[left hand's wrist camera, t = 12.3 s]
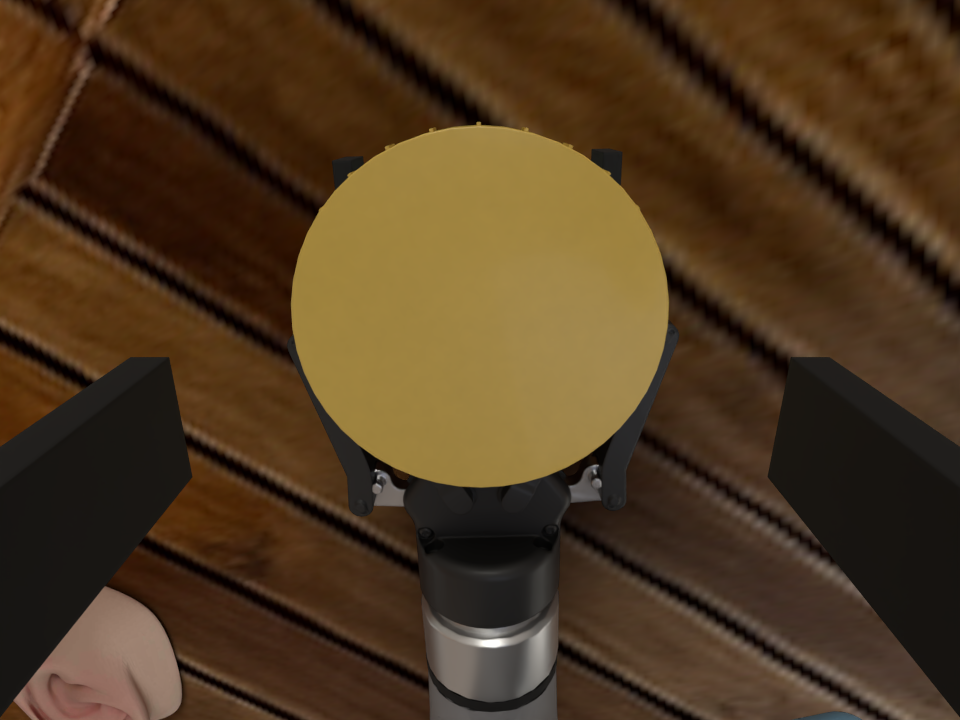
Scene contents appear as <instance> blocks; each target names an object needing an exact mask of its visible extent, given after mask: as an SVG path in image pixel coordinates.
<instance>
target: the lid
mask: <svg viewBox="0 0 960 720" xmlns="http://www.w3.org/2000/svg"><path fill="white" fill-rule="evenodd" d="M528 130H529V129H528V128H524V127H522V128H521V130H518V129H513V128H508V127H503V126H487V125H481V122H477V125H472V126H459V127H451V128H447V129H442V130H436V128H432V129H429V133H425V134H422V135H420V136H417V137H414V138H412V139H409V140H406V141H404V142H401V143H398V144H397V145H395V144H392V145H388V146H386V147H385V149H386V151H384V152H382V153H380V154H378V155H376V156H375V157H373V158H372V159H371V160H369V161H368V162H367V163H365V164H364V165H363V166H361V167H360V168H359V169H357V170H356V171H353V172H351V173H349V174H348V175H347V176H348V178H347V179H346V180H345V181H344V182H343V183H342V184H341V185H340V186H339V187H338V188H337V189H336V190H335V191H334V193H333V194H332V195H331V197H330V198H329V199H328V201H327V202H326V203H325V205H324V206H323V207H321V208H320V209H319V213H318V215H317V217H316V218H315V220H314V222H313V224H312V226H311V227H310V229H309V231H308V233H307V235H306V238H305V241H304V243H303V246H302V248H301V250H300V254H299V256H298V261H297V265H296V270H295V274H294V278H293V287H292V299H291V312H292V328H293V334H294V339H295V344H296V349H297V353H298V356H299V359H300V362H301V365H302V368H303V371H304V373H305V375H306V377H307V380H308V382H309V384H310V386H311V388H312V390H313V392H314V394H315V395H316V397H317V398H318V400H319V401H320V403H321V404H322V406H323V408H324V409H325V411H326V412H327V413H328V414H329V416H330V417H331V418H332V419H333V420H334V422H335V423H336V424H337V425H338V426H339V427H340V429H341V430H342V431H344V432H345V433H346V434H347V435H348V436H349V437H350V438H351V439H352V440H353V441H354V442H355V443H357V444H358V445H359V446H360V447H362V448H363V449H365V450H366V451H367V452H369V453H370V454H372V455H373V456H374V457H376V458H377V459H379V460H381V461H383V462H385V463H386V464H388V465H390V466H392V467H394V468H396V469H398V470H400V471H403V472H405V473H408V474H410V475H413V476H415V477H418V478H422V479H425V480H429V481H432V482H436V483H441V484H447V485H453V486H460V487H479V488H482V487H499V486H507V485H513V484H519V483H524V482H528V481H531V480H535V479H538V478H542V477H545V476H548V475H550V474H552V473H555V472H557V471H559V470H562V469H564V468H567V467H568V466H570V465H572V464H574V463H575V462H577V461H579V460H581V459H582V458H584V457H586V456H587V455H589V454H590V453H591V452H593V451H594V450H595V449H597V448H598V447H599V446H601V445H602V444H604V443H605V442H606V441H607V440H608V439H609V438H610V437H611V436H612V435H613V434H614V433H615V432H616V431H617V430H619V429H620V428H621V426H622V425H623V424H624V423H625V422H626V420H627V419H628V418H629V417H630V416H631V414H632V413H633V412H634V411H635V409H636V408H637V406H638V405H639V403H640V401H641V400H642V398H643V397H644V395H645V394H646V392H647V390H648V388H649V386H650V384H651V382H652V379H653V377H654V375H655V373H656V371H657V368H658V365H659V362H660V359H661V356H662V353H663V349H664V345H665V339H666V333H667V328H668V311H669V298H668V288H667V278H666V274H665V269H664V265H663V261H662V257H661V253H660V251H659V247H658V245H657V243H656V241H655V238H654V236H653V233H652V231H651V229H650V227H649V226H648V224H647V222H646V220H645V219H644V217H643V215H642V213H641V212H640V210H639V209H640V208H639V206H637V205H636V204H635V203H634V202H633V201H632V199H631V198H630V197H629V195H628V194H627V193H626V192H625V190H624V189H623V188H622V187H621V186H620V185H619V184H618V183H617V182H616V181H615V180H614V179H613V178H612V177H611V176H610V175H611V173H610V172H609V171H606V170H604V169H602V168H600V167H599V166H597V165H596V164H595V163H593V162H592V161H591V160H589V159H588V158H586V157H585V156H584V155H582V154H580V153H578V152H576V151H574V150H573V149H572V148H573V146H572V145H570V144H567V143H563V144H561V143H559V142H557V141H554V140H551V139H548V138H546V137H543V136H540V135H537V134H534V133H531V132H528Z"/></svg>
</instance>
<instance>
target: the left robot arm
mask: <svg viewBox="0 0 960 720" xmlns="http://www.w3.org/2000/svg"><path fill="white" fill-rule="evenodd" d="M191 478H192V473H191V468H190V462H189V457H188V452H187V447H186V442H185V437H184V432H183V426H182V421H181V416H180V411H179V406H178V401H177V396H176V390H175V385H174V380H173V375H172V370H171V365H170V360H169V357H130V358H129V359H127V360H126V361H125V362H123V363H122V364H120V365H119V366H117V367H116V368H114V369H113V370H111V371H110V372H109V373H107V374H106V375H104V376H103V377H101V378H100V379H98V380H97V381H95V382H94V383H92V384H91V385H90V386H88V387H87V388H85V389H84V390H82V391H81V392H79V393H78V394H76V395H75V396H74V397H72V398H71V399H69V400H68V401H66V402H65V403H63V404H62V405H60V406H59V407H58V408H56V409H55V410H53V411H52V412H50V413H49V414H47V415H46V416H44V417H43V418H42V419H40V420H39V421H37V422H36V423H34V424H33V425H31V426H30V427H28V428H27V429H26V430H24V431H23V432H21V433H20V434H18V435H17V436H15V437H14V438H12V439H11V440H10V441H8V442H7V443H5V444H4V445H2V446H1V447H0V717H1V716H2V714H3V713H4V712H5V710H6V709H7V708H8V707H9V705H10V704H11V703H12V702H13V700H14V699H15V698H16V697H17V695H18V694H19V693H20V692H21V690H22V689H23V688H24V687H25V685H26V684H27V683H28V682H29V680H30V679H31V678H32V677H33V675H34V674H35V673H36V672H37V670H38V669H39V668H40V667H41V665H42V664H43V663H44V662H45V660H46V659H47V658H48V657H49V655H50V654H51V653H52V652H53V650H54V649H55V648H56V647H57V645H58V644H59V643H60V642H61V640H62V639H63V638H64V637H65V635H66V634H67V633H68V632H69V630H70V629H71V628H72V627H73V625H74V624H75V623H76V622H77V620H78V619H79V618H80V617H81V615H82V614H83V613H84V612H85V610H86V609H87V608H88V607H89V605H90V604H91V603H92V602H93V600H94V599H95V598H96V597H97V595H98V594H99V593H100V592H101V590H102V589H103V588H104V587H105V585H106V584H107V583H108V582H109V580H110V579H111V578H112V577H113V575H114V574H115V573H116V572H117V570H118V569H119V568H120V567H121V565H122V564H123V563H124V562H125V560H126V559H127V558H128V557H129V555H130V554H131V553H132V552H133V550H134V549H135V548H136V547H137V545H138V544H139V543H140V542H141V540H142V539H143V538H144V537H145V535H146V534H147V533H148V532H149V530H150V529H151V528H152V527H153V525H154V524H155V523H156V522H157V520H158V519H159V518H160V517H161V515H162V514H163V513H164V512H165V510H166V509H167V508H168V507H169V505H170V504H171V503H172V502H173V500H174V499H175V498H176V497H177V495H178V494H179V493H180V492H181V490H182V489H183V488H184V487H185V485H186V484H187V483H188V482H189V480H190V479H191ZM768 478H769V479H770V480H771V482H772V483H773V484H774V485H775V487H776V488H777V489H778V490H779V492H780V493H781V494H782V495H783V497H784V498H785V499H786V500H787V502H788V503H789V504H790V505H791V507H792V508H793V509H794V510H795V512H796V513H797V514H798V515H799V517H800V518H801V519H802V520H803V522H804V523H805V524H806V525H807V527H808V528H809V529H810V530H811V532H812V533H813V534H814V535H815V537H816V538H817V539H818V540H819V542H820V543H821V544H822V545H823V547H824V548H825V549H826V550H827V552H828V553H829V554H830V555H831V557H832V558H833V559H834V560H835V562H836V563H837V564H838V565H839V567H840V568H841V569H842V570H843V572H844V573H845V574H846V575H847V577H848V578H849V579H850V580H851V582H852V583H853V584H854V585H855V587H856V588H857V589H858V590H859V592H860V593H861V594H862V595H863V597H864V598H865V599H866V600H867V602H868V603H869V604H870V605H871V607H872V608H873V609H874V610H875V612H876V613H877V614H878V615H879V617H880V618H881V619H882V620H883V622H884V623H885V624H886V625H887V627H888V628H889V629H890V630H891V632H892V633H893V634H894V635H895V637H896V638H897V639H898V640H899V642H900V643H901V644H902V645H903V647H904V648H905V649H906V650H907V652H908V653H909V654H910V655H911V657H912V658H913V659H914V660H915V662H916V663H917V664H918V665H919V667H920V668H921V669H922V670H923V672H924V673H925V674H926V675H927V677H928V678H929V679H930V680H931V682H932V683H933V684H934V685H935V687H936V688H937V689H938V690H939V692H940V693H941V694H942V695H943V697H944V698H945V699H946V700H947V702H948V703H949V704H950V705H951V707H952V708H953V709H954V711H955V712H956V713H957V714H958V716H959V717H960V447H959V446H958V445H956V444H955V443H953V442H952V441H950V440H949V439H948V438H946V437H945V436H943V435H942V434H940V433H939V432H937V431H936V430H934V429H933V428H932V427H930V426H929V425H927V424H926V423H924V422H923V421H921V420H920V419H918V418H917V417H916V416H914V415H913V414H911V413H910V412H908V411H907V410H905V409H904V408H902V407H901V406H900V405H898V404H897V403H895V402H894V401H892V400H891V399H889V398H888V397H886V396H885V395H884V394H882V393H881V392H879V391H878V390H876V389H875V388H873V387H872V386H870V385H869V384H868V383H866V382H865V381H863V380H862V379H860V378H859V377H857V376H856V375H854V374H853V373H851V372H850V371H849V370H847V369H846V368H844V367H843V366H841V365H840V364H838V363H837V362H835V361H834V360H833V359H831V358H830V357H791V360H790V365H789V370H788V375H787V380H786V385H785V390H784V396H783V401H782V406H781V411H780V416H779V421H778V426H777V432H776V437H775V442H774V447H773V452H772V457H771V462H770V468H769V473H768Z"/></svg>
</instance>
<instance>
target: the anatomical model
mask: <svg viewBox="0 0 960 720" xmlns="http://www.w3.org/2000/svg"><path fill="white" fill-rule="evenodd" d="M181 700H182V685H181V679H180V674H179V670H178V666H177V662H176V659H175V656H174V652H173V649H172V646H171V644H170V641H169V639H168V637H167V634H166V632H165V630H164V628H163V627H162V625H161V623H160V622H159V620H158V619H157V618H156V616H155V615H154V614H153V613H152V612H151V611H150V610H149V609H148V608H147V607H145V606H144V605H143V604H141V603H140V602H138V601H136V600H135V599H133V598H131V597H129V596H127V595H125V594H123V593H121V592H119V591H116V590H114V589H111V588H109V587H106V586H105V587H104V588H103V589H102V590H101V592H100V593H99V594H98V595H97V597H96V598H95V599H94V600H93V602H92V603H91V604H90V605H89V607H88V608H87V609H86V610H85V612H84V613H83V614H82V615H81V617H80V618H79V619H78V620H77V622H76V623H75V624H74V625H73V627H72V628H71V629H70V630H69V632H68V633H67V634H66V635H65V637H64V638H63V639H62V640H61V642H60V643H59V644H58V645H57V647H56V648H55V649H54V650H53V652H52V653H51V654H50V655H49V657H48V658H47V659H46V660H45V662H44V663H43V664H42V665H41V667H40V668H39V669H38V670H37V672H36V673H35V674H34V675H33V677H32V678H31V679H30V680H29V682H28V683H27V684H26V685H25V687H24V688H23V689H22V690H21V692H20V693H19V694H18V695H17V697H16V698H15V699H14V700H13V701H14V702H15V703H16V704H17V705H18V706H19V707H20V708H21V709H22V710H23V711H24V712H25V713H26V714H27V715H28V716H29V717H30V718H31V719H32V720H159V719H162V718H165V717H167V716H169V715H171V714H173V713H174V712H175V711H176V710H177V709H178V708H179V706H180V704H181Z"/></svg>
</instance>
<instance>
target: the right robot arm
mask: <svg viewBox="0 0 960 720" xmlns="http://www.w3.org/2000/svg"><path fill="white" fill-rule="evenodd" d="M591 161H592V162H593V163H595V164H596V165H597V166H599V167H600V168H602V169H604V170H606V171H609V172H610V173H611V175H610V176H611V177H612V178H613V179H614V180H615V181H616V182H617V183H618V184H619V185H620V186H621V168H622V152H620V151H616V150H612V149H592V157H591ZM332 164H333V173H334V182H335V190H336V189H337V188H338V187H339V186H340V185H341V184H342V183H343V182H344V181H345V180H346V179H347V178H348V176H347V175H348V174H349V173H351V172H353V171H356V170H357V169H359V168H360V167H361V166H363V165H364V162H363V156H359V157H344V158H340V159H337V160H334V161H332ZM678 338H679V333H678V330H677V329H676V327H675V326H674V325H673V324H672V323H671V322H670V321H669V320H668V328H667V333H666V339H665V345H664V349H663V353H662V356H661V359H660V362H659V365H658V368H657V371H656V373H655V375H654V377H653V379H652V382H651V384H650V386H649V388H648V390H647V392H646V394H645V395H644V397H643V398H642V400H641V401H640V403H639V405H638V406H637V408H636V409H635V411H634V412H633V413H632V414H631V416H630V417H629V418H628V419H627V420H626V422H625V423H624V424H623V425H622V426H621V428H620V429H619V430H617V431H616V432H615V433H614V434H613V435H612V436H611V437H610V438H609V439H608V440H607V441H606V442H605V443H604V444H602V445H601V446H599V447H598V448H597V449H595V450H594V451H593V455H587V456H586V457H584V460H583V461H582V462H581V464H580V467H579V470H578V471H577V473H575V474H574V475H572V476H568V477H567V476H566V475H565V473H564V472H563V471H562V470H559V471H557V472H555V473H552V474H550V475H548V476H545V477H542V478H538V479H535V480H531V481H528V482H524V483H519V484H513V485H507V486H499V487H482V488H479V487H460V486H453V485H447V484H441V483H436V482H432V481H429V480H425V479H422V478H418V477H415V476H413V475H410V476H409V478H408V479H407V480H402V479H399V478H398V477H397V476H396V475H395V474H394V471H393V468H392V467H391V466H390V465H388V464H386V463H385V462H383V461H381V460H379V459H377V458H376V457H374V456H373V455H372V454H370V453H369V452H367V451H366V450H365V449H363V448H362V447H360V446H359V445H358V444H357V443H355V442H354V441H353V440H352V439H351V438H350V437H349V436H348V435H347V434H346V433H345V432H344V431H342V430H341V429H340V427H339V426H338V425H337V424H336V423H335V422H334V420H333V419H332V418H331V417H330V416H329V414H328V413H327V412H326V411H325V409H324V408H323V406H322V404H321V403H320V401H319V400H318V398H317V397H316V395H315V394H314V392H313V390H312V388H311V386H310V384H309V382H308V380H307V377H306V375H305V373H304V371H303V368H302V365H301V362H300V359H299V356H298V353H297V349H296V344H295V339H294V334H293V335H292V336H291V338H290V339H289V340H288V344H287V347H288V351H289V353H290V355H291V357H292V359H293V361H294V364H295V366H296V368H297V370H298V372H299V374H300V376H301V379H302V381H303V383H304V385H305V387H306V389H307V391H308V394H309V396H310V398H311V400H312V402H313V404H314V406H315V409H316V411H317V413H318V415H319V417H320V419H321V421H322V424H323V426H324V428H325V430H326V432H327V434H328V436H329V439H330V441H331V443H332V445H333V447H334V449H335V451H336V454H337V456H338V458H339V460H340V462H341V464H342V466H343V469H344V471H345V473H346V475H347V479H348V499H349V508H350V511H351V512H352V513H353V514H355V515H356V516H361V517H362V516H367V515H369V514H370V513H371V512H372V510H373V507H374V506H404V507H405V510H406V511H407V513H408V514H409V515H410V516H411V518H412V519H413V521H414V524H415V528H416V538H417V550H418V563H419V575H420V585H421V590H422V599H421V602H422V613H423V623H424V633H425V643H426V658H427V665H428V673H429V697H430V720H558V719H557V687H556V663H557V650H558V619H559V591H558V586H559V566H560V524H561V519H562V517H563V515H564V513H565V512H566V510H567V509H568V507H569V505H570V503H573V502H586V501H599V500H601V501H602V504H603V506H604V507H605V508H606V509H608V510H611V511H615V510H619V509H621V508H622V507H623V506H624V505H625V503H626V469H627V466H628V464H629V461H630V459H631V456H632V454H633V451H634V449H635V446H636V444H637V441H638V439H639V436H640V434H641V431H642V429H643V426H644V424H645V422H646V419H647V417H648V414H649V412H650V409H651V407H652V404H653V402H654V399H655V397H656V394H657V392H658V389H659V387H660V384H661V382H662V379H663V377H664V374H665V372H666V369H667V367H668V364H669V362H670V359H671V357H672V354H673V352H674V349H675V347H676V344H677V342H678ZM793 720H862V719H860V718H858V717H856V716H854V715H852V714H849V713H845V712H836V711H834V712H827V713H822V714H817V715H813V716H808V717H803V718H798V719H793Z"/></svg>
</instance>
